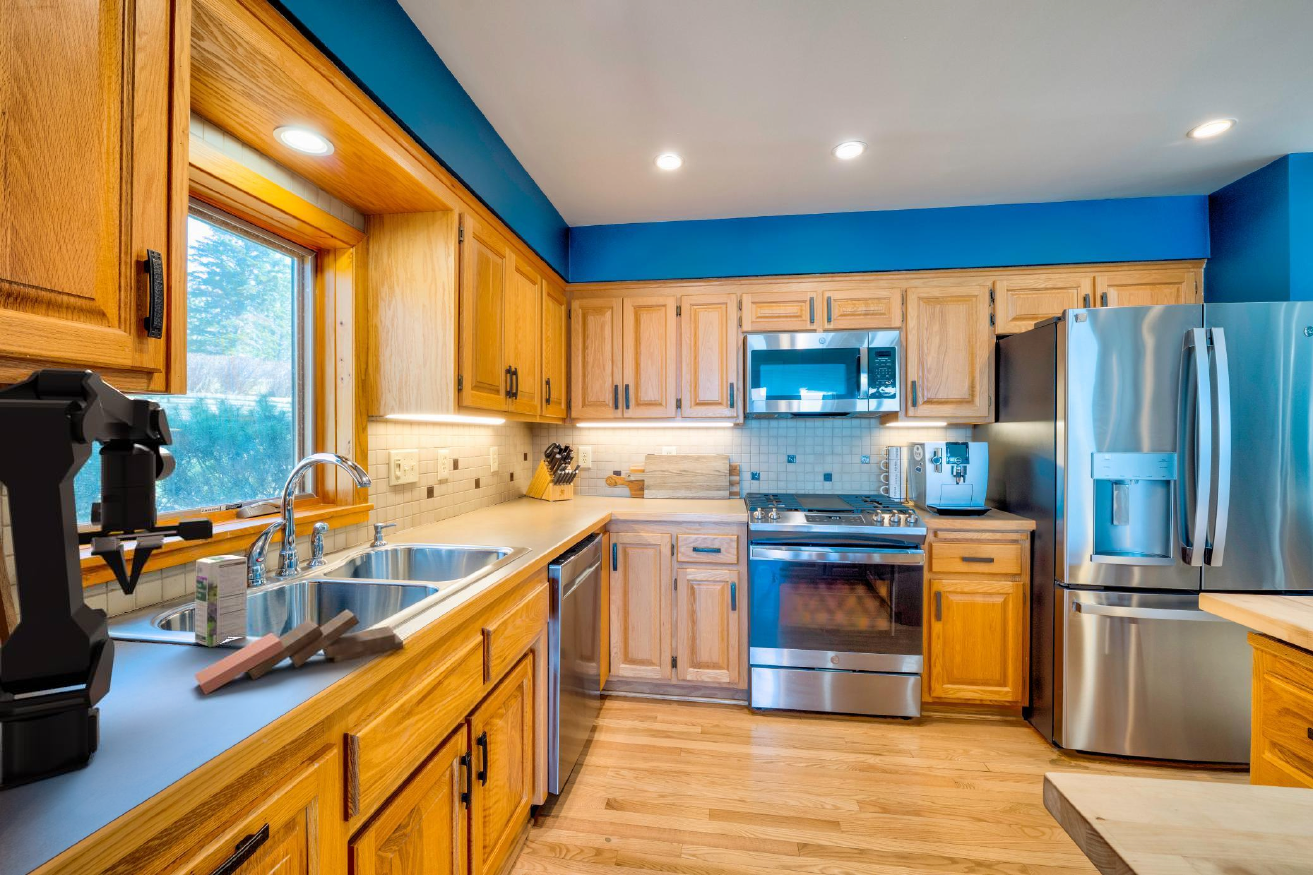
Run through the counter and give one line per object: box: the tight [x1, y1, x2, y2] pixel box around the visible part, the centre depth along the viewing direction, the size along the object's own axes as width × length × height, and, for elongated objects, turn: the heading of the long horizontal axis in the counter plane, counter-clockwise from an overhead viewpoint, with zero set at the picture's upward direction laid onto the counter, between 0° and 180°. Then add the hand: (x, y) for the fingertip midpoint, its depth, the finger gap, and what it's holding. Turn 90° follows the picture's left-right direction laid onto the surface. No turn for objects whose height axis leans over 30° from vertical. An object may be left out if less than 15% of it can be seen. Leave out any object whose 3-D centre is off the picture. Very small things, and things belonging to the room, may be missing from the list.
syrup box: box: [194, 554, 248, 648], centre depth 97 cm, size 6×6×14 cm
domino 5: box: [331, 632, 404, 664], centre depth 91 cm, size 2×5×10 cm
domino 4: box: [321, 625, 395, 659], centre depth 90 cm, size 2×5×10 cm
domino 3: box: [288, 608, 360, 668], centre depth 88 cm, size 2×5×10 cm
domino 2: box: [246, 618, 323, 681], centre depth 85 cm, size 2×5×10 cm
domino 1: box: [194, 632, 284, 695], centre depth 81 cm, size 2×5×10 cm
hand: (129, 594), depth 79 cm, fingers closed
